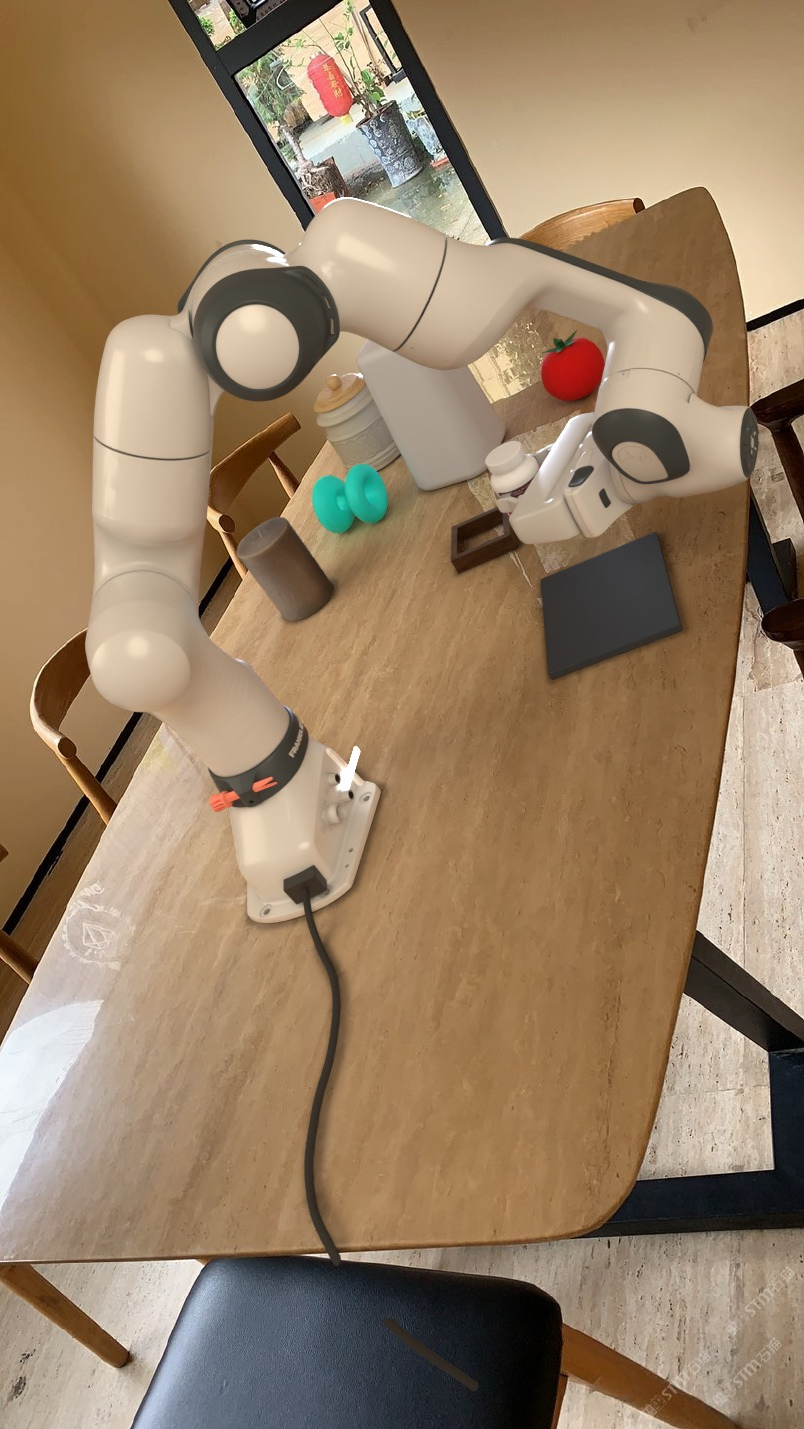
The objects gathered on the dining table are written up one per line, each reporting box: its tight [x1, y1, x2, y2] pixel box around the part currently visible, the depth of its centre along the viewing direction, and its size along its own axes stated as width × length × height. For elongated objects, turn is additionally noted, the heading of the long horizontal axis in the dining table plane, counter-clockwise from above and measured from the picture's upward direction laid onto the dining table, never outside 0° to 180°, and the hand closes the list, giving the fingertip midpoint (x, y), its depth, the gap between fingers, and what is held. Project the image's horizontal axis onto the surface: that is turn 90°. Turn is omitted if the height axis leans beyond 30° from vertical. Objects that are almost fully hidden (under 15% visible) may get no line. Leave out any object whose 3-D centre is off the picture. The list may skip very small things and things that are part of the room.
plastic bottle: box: [355, 339, 506, 492], centre depth 168 cm, size 15×15×28 cm
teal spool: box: [311, 464, 389, 534], centre depth 176 cm, size 10×10×10 cm
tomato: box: [539, 329, 606, 402], centre depth 169 cm, size 10×10×10 cm
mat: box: [539, 531, 684, 680], centre depth 127 cm, size 20×16×1 cm
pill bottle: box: [485, 440, 540, 518], centre depth 125 cm, size 6×6×11 cm
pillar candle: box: [235, 516, 335, 622], centre depth 164 cm, size 10×10×15 cm
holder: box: [450, 506, 518, 575], centre depth 152 cm, size 9×9×2 cm
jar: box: [313, 372, 401, 472], centre depth 191 cm, size 13×13×18 cm
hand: (512, 484), depth 125 cm, fingers closed on pill bottle, 6 cm apart
